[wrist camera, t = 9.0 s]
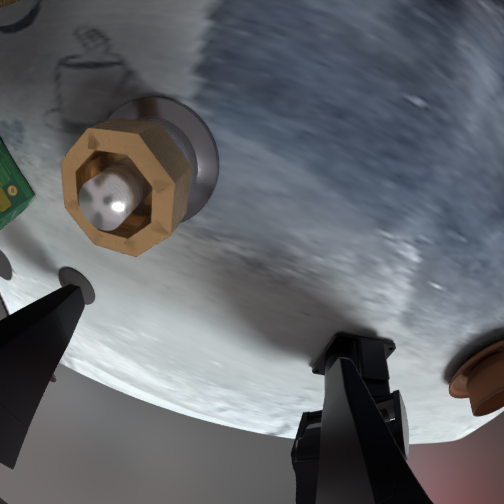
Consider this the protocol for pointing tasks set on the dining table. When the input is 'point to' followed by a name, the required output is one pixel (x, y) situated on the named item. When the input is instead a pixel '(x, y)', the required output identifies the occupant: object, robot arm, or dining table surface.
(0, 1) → the plant pot
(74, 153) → the ring
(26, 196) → the coffee box
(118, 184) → the silver flanged knob
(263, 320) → the dining table surface
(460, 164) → the dining table surface
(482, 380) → the cup and saucer
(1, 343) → the robot arm
